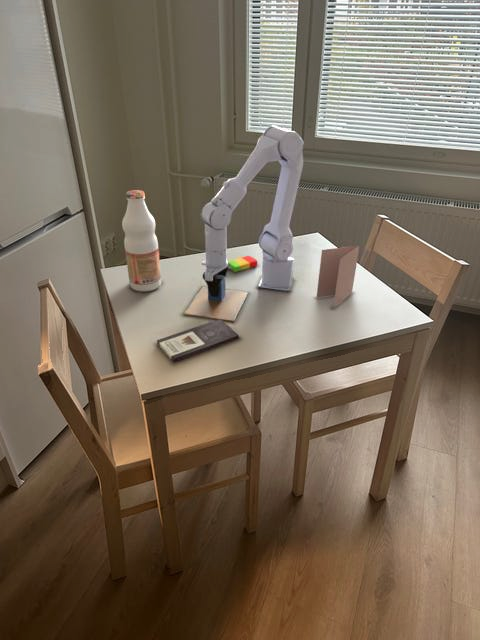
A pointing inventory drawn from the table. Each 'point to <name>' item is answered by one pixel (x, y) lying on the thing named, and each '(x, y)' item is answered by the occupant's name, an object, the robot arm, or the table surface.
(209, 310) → the cork mat
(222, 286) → the blue block
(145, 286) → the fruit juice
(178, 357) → the chocolate bar
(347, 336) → the table surface
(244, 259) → the popsicle
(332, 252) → the greeting card
